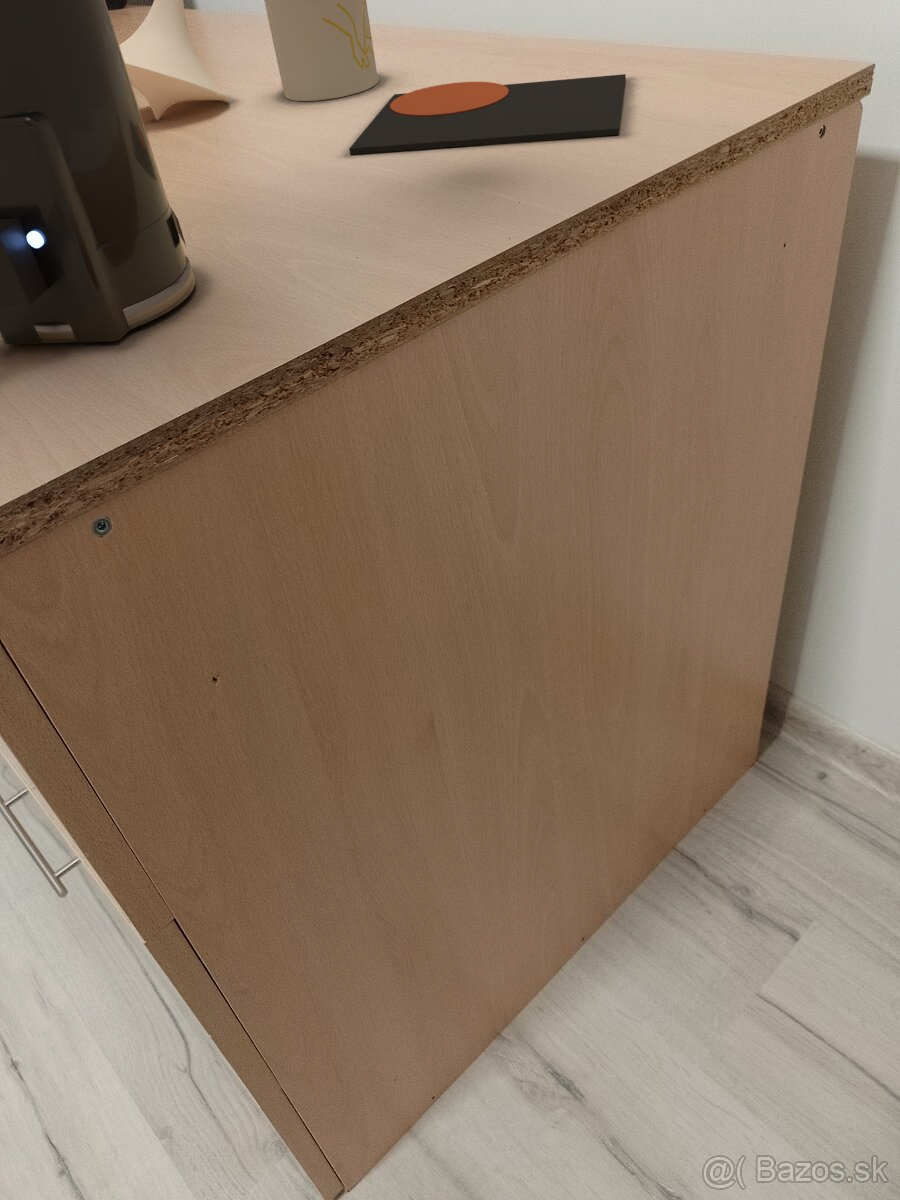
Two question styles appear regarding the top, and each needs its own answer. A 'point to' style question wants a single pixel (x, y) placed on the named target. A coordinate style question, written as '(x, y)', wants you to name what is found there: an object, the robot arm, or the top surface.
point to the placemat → (495, 114)
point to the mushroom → (167, 60)
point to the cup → (322, 47)
